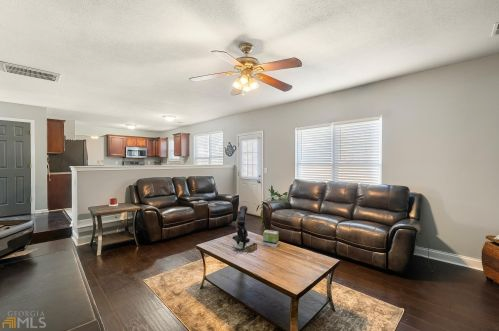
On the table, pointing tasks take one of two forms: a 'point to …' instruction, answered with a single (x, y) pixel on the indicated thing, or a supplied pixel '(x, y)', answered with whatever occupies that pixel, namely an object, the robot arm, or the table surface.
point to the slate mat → (240, 249)
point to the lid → (240, 245)
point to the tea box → (270, 238)
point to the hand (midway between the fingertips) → (241, 247)
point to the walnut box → (251, 248)
